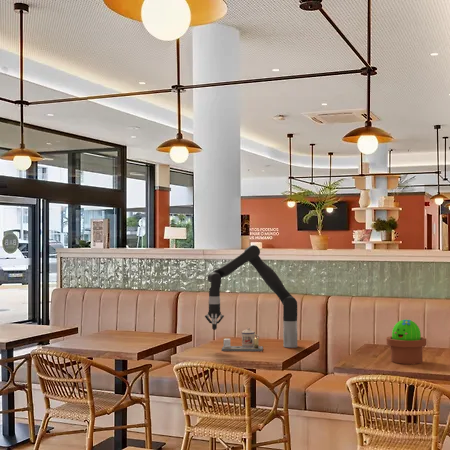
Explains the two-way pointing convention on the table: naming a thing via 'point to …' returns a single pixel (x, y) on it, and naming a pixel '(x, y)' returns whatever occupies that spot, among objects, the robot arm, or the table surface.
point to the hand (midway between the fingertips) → (214, 329)
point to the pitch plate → (245, 347)
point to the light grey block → (226, 343)
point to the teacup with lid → (248, 337)
